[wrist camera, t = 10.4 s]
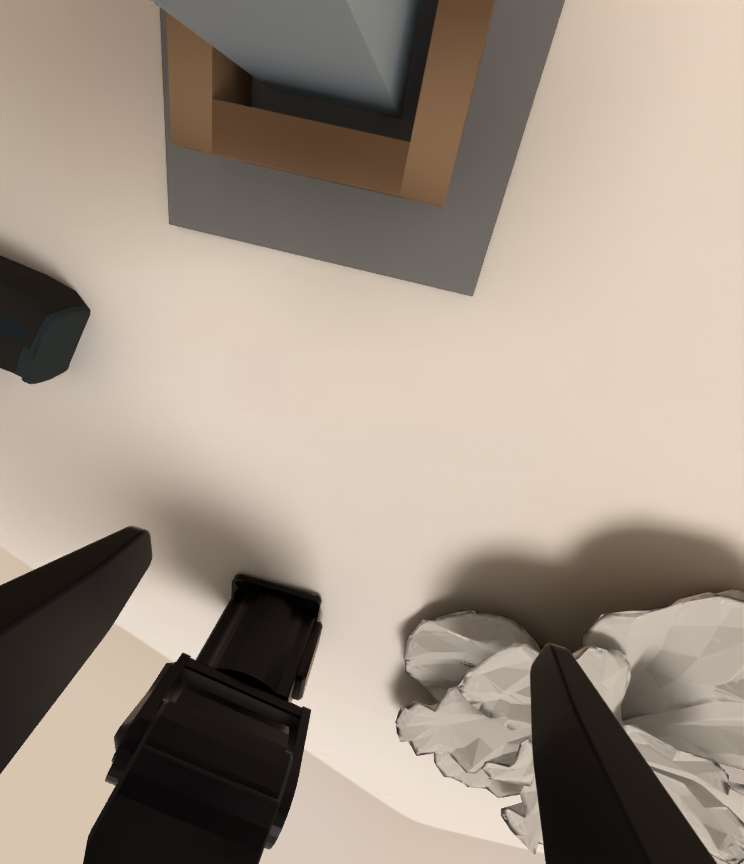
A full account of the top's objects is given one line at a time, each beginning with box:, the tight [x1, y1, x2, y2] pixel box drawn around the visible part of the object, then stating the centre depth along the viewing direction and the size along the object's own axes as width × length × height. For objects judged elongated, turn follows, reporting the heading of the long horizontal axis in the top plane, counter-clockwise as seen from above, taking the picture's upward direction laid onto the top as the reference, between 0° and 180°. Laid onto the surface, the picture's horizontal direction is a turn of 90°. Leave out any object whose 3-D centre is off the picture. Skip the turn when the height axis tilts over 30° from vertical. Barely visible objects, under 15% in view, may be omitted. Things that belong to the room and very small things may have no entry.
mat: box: [160, 0, 565, 296], centre depth 14 cm, size 16×14×1 cm
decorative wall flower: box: [395, 590, 744, 864], centre depth 26 cm, size 30×7×30 cm
